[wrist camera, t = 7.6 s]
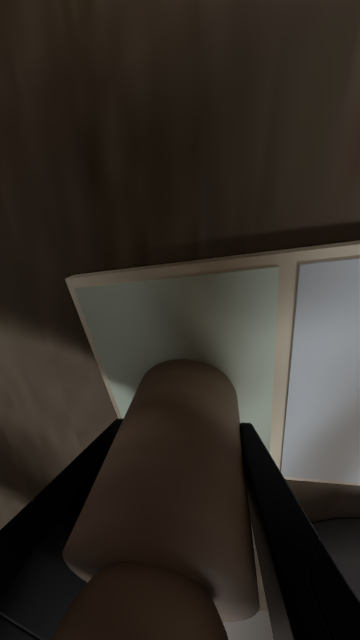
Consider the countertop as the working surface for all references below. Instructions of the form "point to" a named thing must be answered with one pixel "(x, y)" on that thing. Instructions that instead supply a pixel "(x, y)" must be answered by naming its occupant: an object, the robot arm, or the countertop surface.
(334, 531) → the red and grey pieces
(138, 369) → the board
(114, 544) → the pawn
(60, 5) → the countertop surface
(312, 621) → the robot arm
